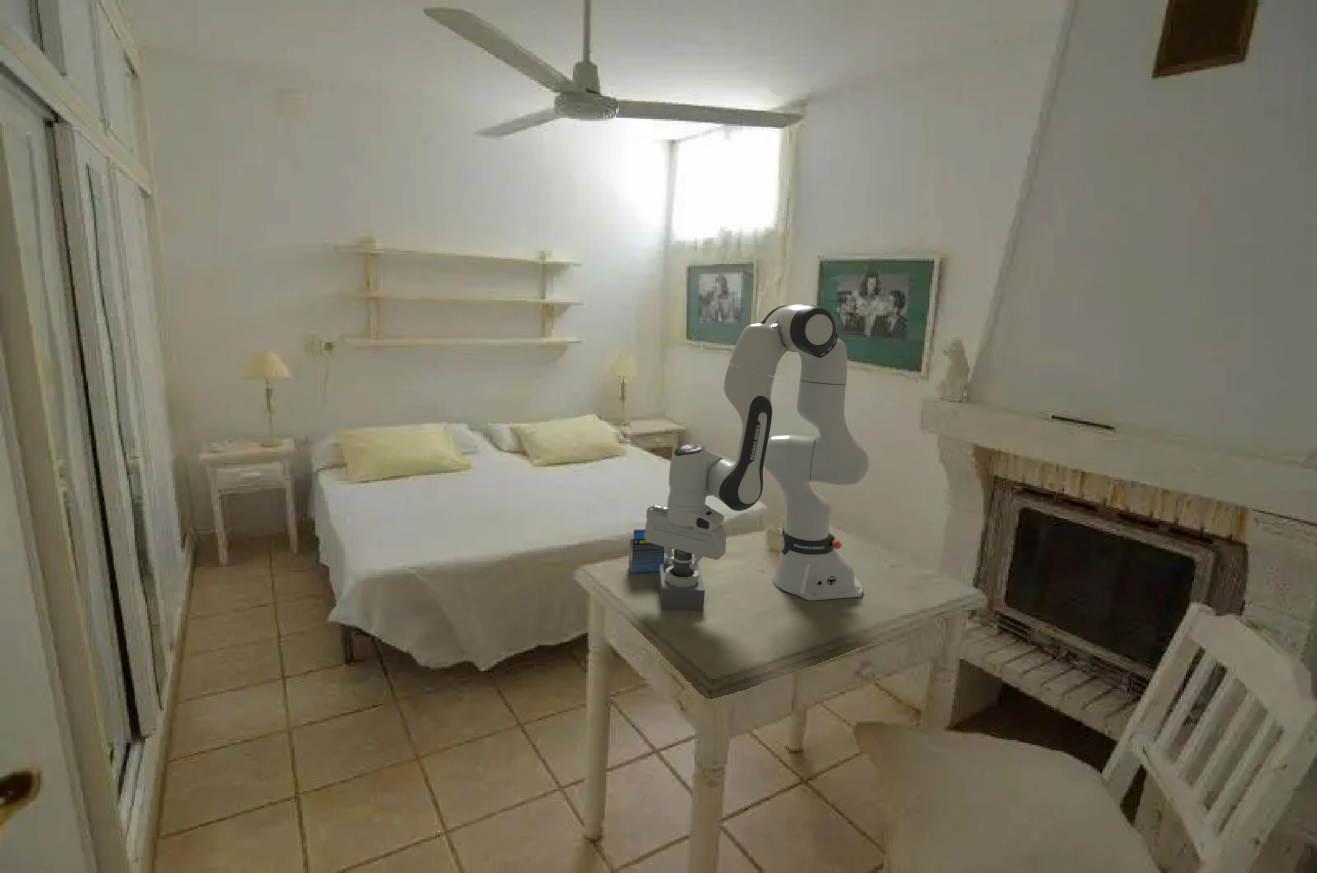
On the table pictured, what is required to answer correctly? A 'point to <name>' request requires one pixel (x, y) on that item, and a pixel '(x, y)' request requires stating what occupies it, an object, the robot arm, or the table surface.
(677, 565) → the lens
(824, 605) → the table surface
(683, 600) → the camera body
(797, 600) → the table surface
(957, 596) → the table surface
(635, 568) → the label tape box
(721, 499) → the robot arm
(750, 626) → the table surface
